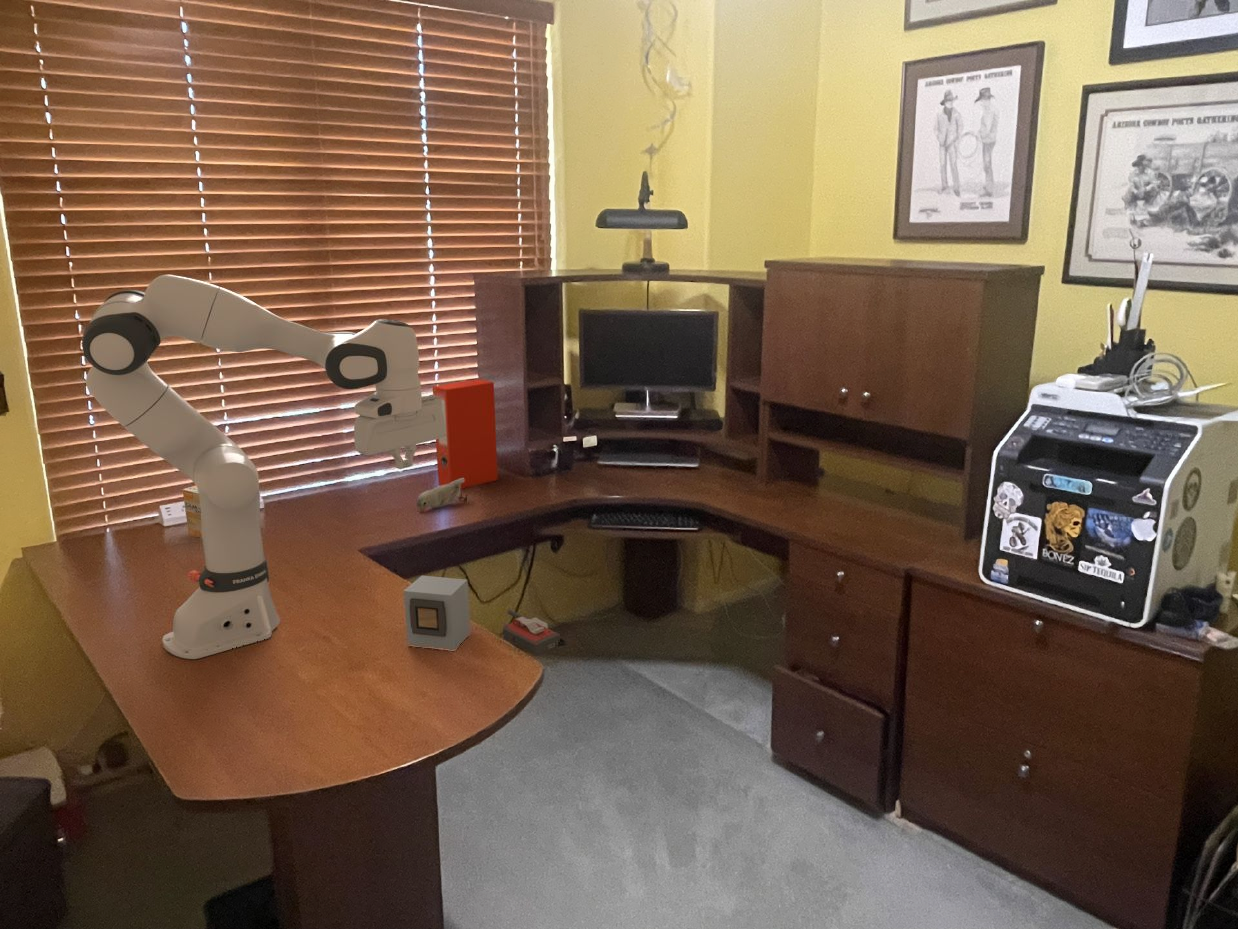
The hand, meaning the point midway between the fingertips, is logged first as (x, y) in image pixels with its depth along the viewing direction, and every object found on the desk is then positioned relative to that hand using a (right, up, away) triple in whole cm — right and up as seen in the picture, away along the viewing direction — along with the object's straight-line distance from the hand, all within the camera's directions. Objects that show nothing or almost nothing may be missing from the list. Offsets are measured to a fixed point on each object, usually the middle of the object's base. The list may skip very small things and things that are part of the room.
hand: (404, 467), depth 186 cm
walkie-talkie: (+25, -35, 0) cm, 43 cm away
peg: (+8, -29, -1) cm, 31 cm away
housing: (+8, -35, -2) cm, 36 cm away
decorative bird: (-8, -12, +81) cm, 83 cm away
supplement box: (-68, -19, +60) cm, 92 cm away
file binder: (-4, -6, +105) cm, 105 cm away
